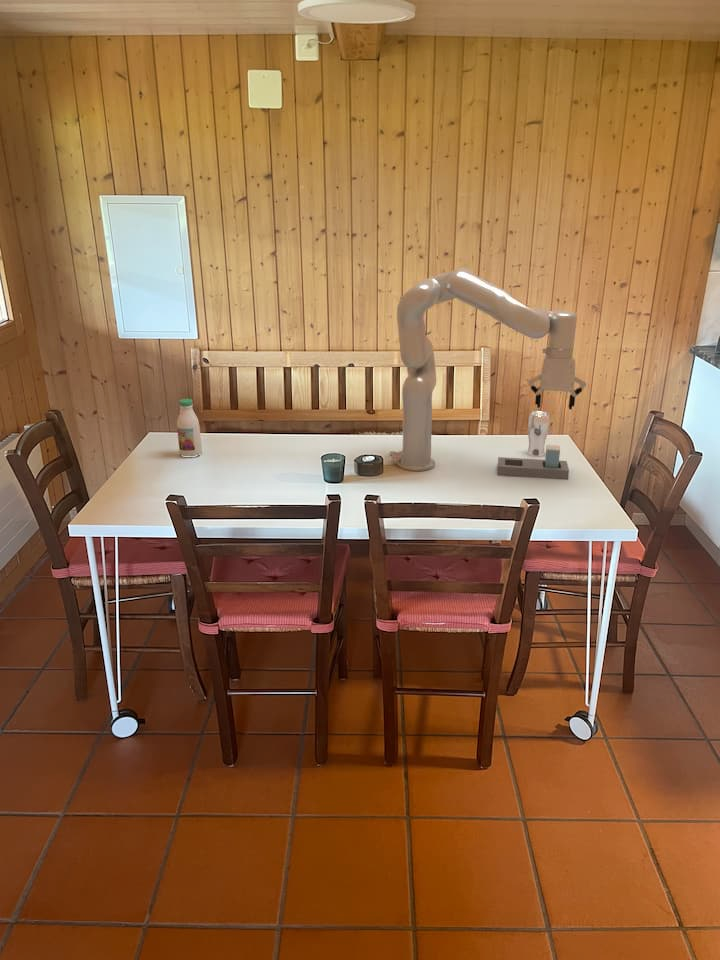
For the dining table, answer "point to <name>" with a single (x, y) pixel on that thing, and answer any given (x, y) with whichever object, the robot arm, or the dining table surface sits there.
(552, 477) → the panel
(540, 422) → the beer glass
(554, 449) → the plug
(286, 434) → the dining table surface
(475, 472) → the dining table surface
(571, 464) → the dining table surface
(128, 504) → the dining table surface
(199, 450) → the milk bottle
